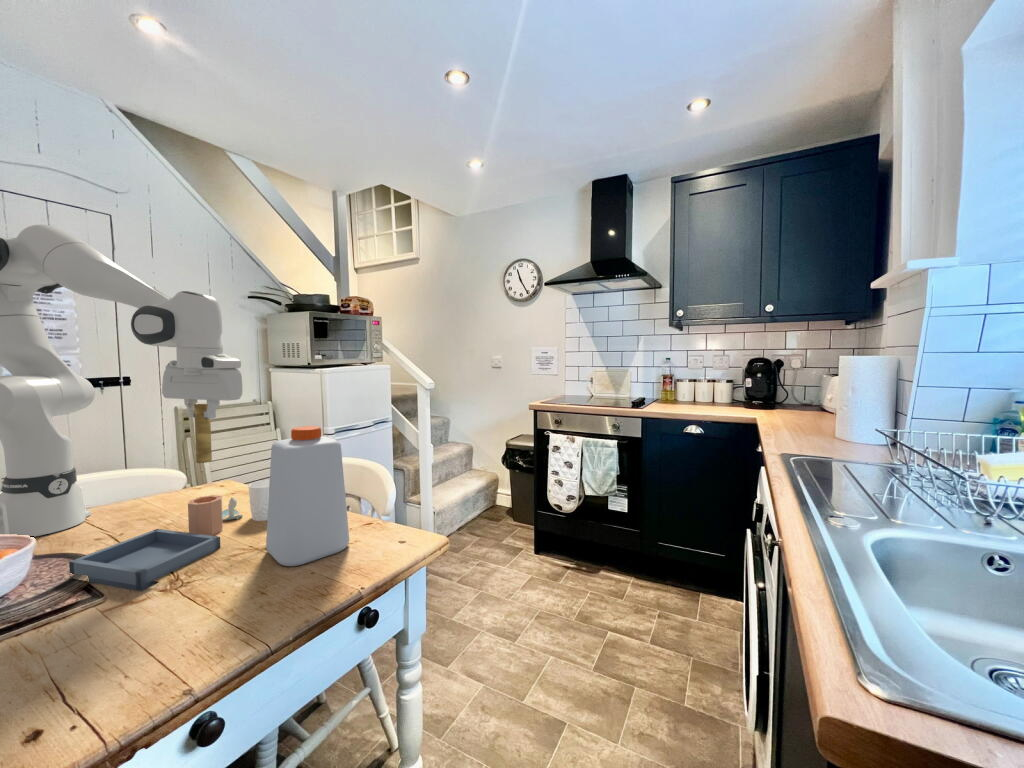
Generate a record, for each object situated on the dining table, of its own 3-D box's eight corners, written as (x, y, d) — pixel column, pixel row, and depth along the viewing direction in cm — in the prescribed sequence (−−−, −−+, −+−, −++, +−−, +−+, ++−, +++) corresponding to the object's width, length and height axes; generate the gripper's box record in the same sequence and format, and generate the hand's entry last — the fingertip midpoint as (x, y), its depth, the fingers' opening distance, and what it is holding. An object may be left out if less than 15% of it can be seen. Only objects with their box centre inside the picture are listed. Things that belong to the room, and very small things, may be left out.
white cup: (267, 526, 105) (266, 488, 104) (242, 524, 106) (241, 486, 106) (290, 515, 112) (289, 480, 112) (266, 513, 114) (265, 478, 113)
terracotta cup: (182, 539, 97) (181, 503, 96) (208, 529, 103) (207, 494, 102) (204, 542, 95) (203, 505, 95) (229, 531, 101) (228, 496, 101)
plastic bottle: (261, 549, 92) (257, 427, 91) (328, 529, 103) (326, 420, 102) (284, 573, 82) (281, 436, 80) (356, 548, 93) (354, 428, 91)
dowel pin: (193, 462, 97) (190, 404, 96) (205, 459, 100) (203, 403, 99) (203, 463, 96) (201, 405, 95) (214, 460, 99) (213, 403, 98)
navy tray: (70, 579, 79) (69, 561, 79) (157, 543, 95) (157, 528, 94) (141, 591, 75) (140, 573, 75) (220, 552, 91) (220, 536, 90)
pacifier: (217, 529, 103) (244, 522, 108) (215, 505, 103) (243, 499, 107) (210, 522, 108) (236, 515, 112) (208, 499, 108) (235, 493, 112)
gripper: (152, 360, 96) (154, 418, 97) (222, 361, 91) (224, 421, 92) (179, 360, 102) (181, 414, 103) (246, 361, 97) (248, 418, 98)
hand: (202, 418), depth 97 cm, fingers closed on dowel pin, 3 cm apart
